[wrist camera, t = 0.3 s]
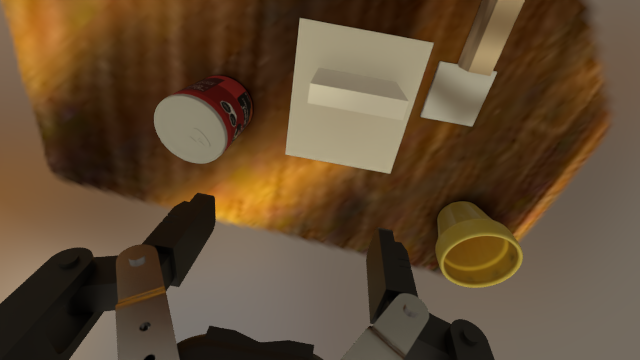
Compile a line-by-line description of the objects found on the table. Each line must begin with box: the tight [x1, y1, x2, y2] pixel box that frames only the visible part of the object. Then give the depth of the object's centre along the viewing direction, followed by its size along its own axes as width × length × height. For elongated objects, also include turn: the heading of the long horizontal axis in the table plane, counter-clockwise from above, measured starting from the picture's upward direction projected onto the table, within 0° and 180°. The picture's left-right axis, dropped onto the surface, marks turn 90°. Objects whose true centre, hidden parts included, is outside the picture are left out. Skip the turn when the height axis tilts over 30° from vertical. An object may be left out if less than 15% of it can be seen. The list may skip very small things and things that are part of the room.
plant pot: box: [436, 201, 523, 288], centre depth 42 cm, size 10×10×10 cm
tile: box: [307, 67, 409, 120], centre depth 33 cm, size 2×10×9 cm, turn 81°
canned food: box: [154, 76, 253, 163], centre depth 35 cm, size 8×8×11 cm
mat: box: [285, 18, 434, 173], centre depth 38 cm, size 18×16×1 cm
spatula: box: [420, 0, 525, 126], centre depth 33 cm, size 17×7×4 cm, turn 171°
